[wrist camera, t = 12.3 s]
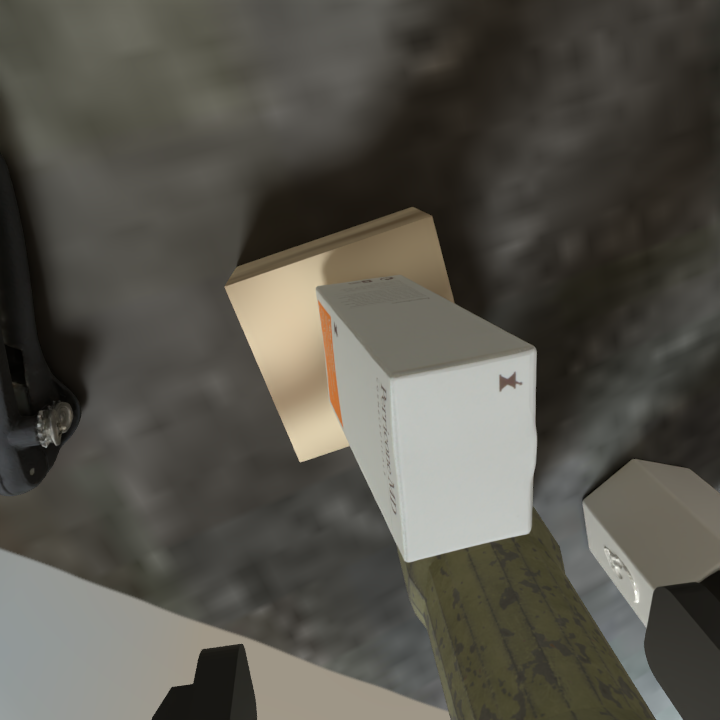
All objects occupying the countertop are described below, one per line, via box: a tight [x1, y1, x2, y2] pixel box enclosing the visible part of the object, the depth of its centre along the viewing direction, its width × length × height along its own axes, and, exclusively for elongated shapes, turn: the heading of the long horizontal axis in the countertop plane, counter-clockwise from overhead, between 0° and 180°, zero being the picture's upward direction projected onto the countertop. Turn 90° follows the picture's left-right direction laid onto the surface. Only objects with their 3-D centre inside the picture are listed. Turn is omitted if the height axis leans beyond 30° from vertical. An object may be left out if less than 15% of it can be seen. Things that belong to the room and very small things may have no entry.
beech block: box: [225, 207, 455, 462], centre depth 28 cm, size 10×10×5 cm
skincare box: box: [316, 275, 537, 562], centre depth 20 cm, size 6×4×12 cm
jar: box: [582, 459, 720, 628], centre depth 32 cm, size 9×8×12 cm
